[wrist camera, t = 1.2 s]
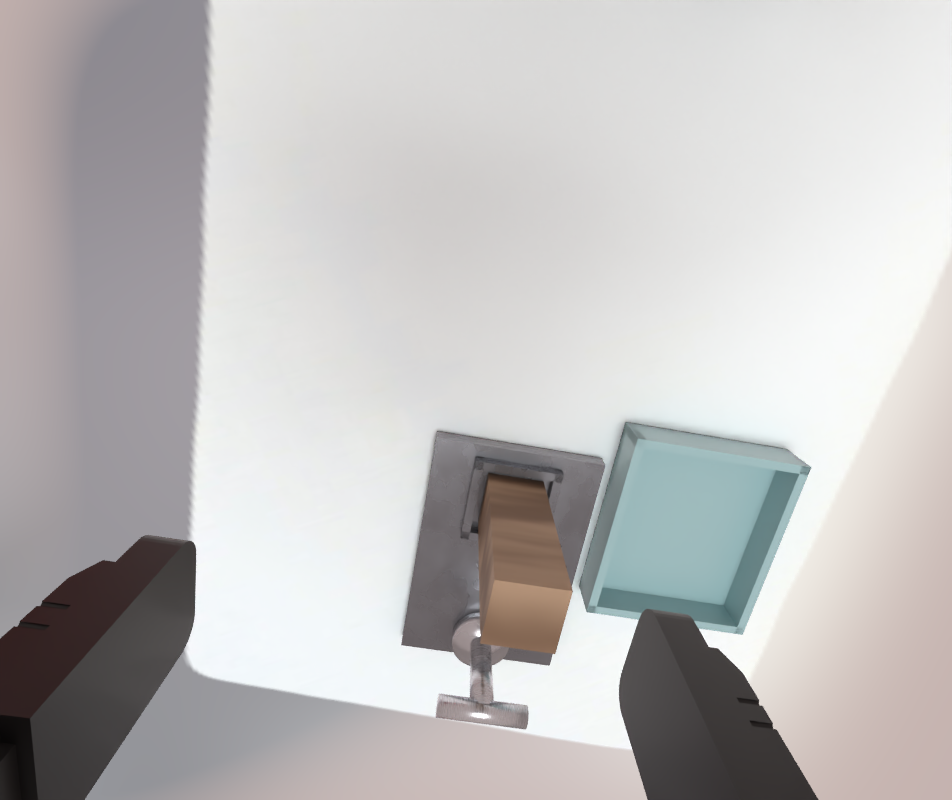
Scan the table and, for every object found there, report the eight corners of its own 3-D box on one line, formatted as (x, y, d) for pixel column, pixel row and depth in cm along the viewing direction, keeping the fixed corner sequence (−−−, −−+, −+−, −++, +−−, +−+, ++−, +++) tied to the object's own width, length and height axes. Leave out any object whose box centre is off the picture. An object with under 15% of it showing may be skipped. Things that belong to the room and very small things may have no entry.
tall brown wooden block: (488, 472, 39) (494, 579, 28) (543, 481, 39) (572, 591, 28) (478, 521, 40) (480, 643, 29) (531, 529, 40) (554, 654, 29)
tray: (625, 422, 39) (637, 438, 36) (786, 449, 40) (811, 467, 37) (579, 585, 43) (586, 611, 41) (725, 607, 44) (742, 634, 41)
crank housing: (437, 431, 39) (427, 491, 31) (601, 457, 40) (635, 523, 31) (402, 636, 45) (386, 733, 36) (547, 656, 46) (563, 756, 37)
